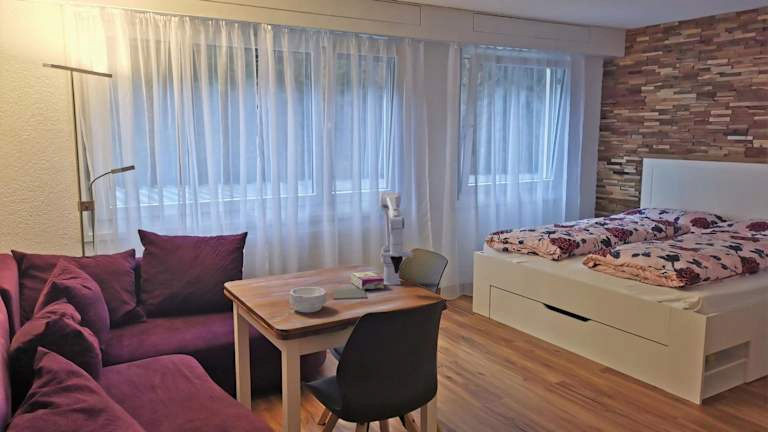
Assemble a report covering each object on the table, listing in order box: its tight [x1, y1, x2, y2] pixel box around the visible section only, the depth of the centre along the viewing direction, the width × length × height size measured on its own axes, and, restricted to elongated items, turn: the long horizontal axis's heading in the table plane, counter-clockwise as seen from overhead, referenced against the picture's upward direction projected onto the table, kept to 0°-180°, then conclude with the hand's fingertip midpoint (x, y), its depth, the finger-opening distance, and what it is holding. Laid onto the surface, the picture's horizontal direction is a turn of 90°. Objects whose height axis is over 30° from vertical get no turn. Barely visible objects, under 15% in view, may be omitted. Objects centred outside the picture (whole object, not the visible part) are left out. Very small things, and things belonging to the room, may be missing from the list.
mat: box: [332, 288, 368, 300], centre depth 269 cm, size 14×14×1 cm
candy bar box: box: [350, 271, 385, 291], centre depth 283 cm, size 11×5×16 cm
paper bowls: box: [289, 286, 328, 314], centre depth 246 cm, size 15×15×8 cm
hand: (396, 272), depth 270 cm, fingers closed
